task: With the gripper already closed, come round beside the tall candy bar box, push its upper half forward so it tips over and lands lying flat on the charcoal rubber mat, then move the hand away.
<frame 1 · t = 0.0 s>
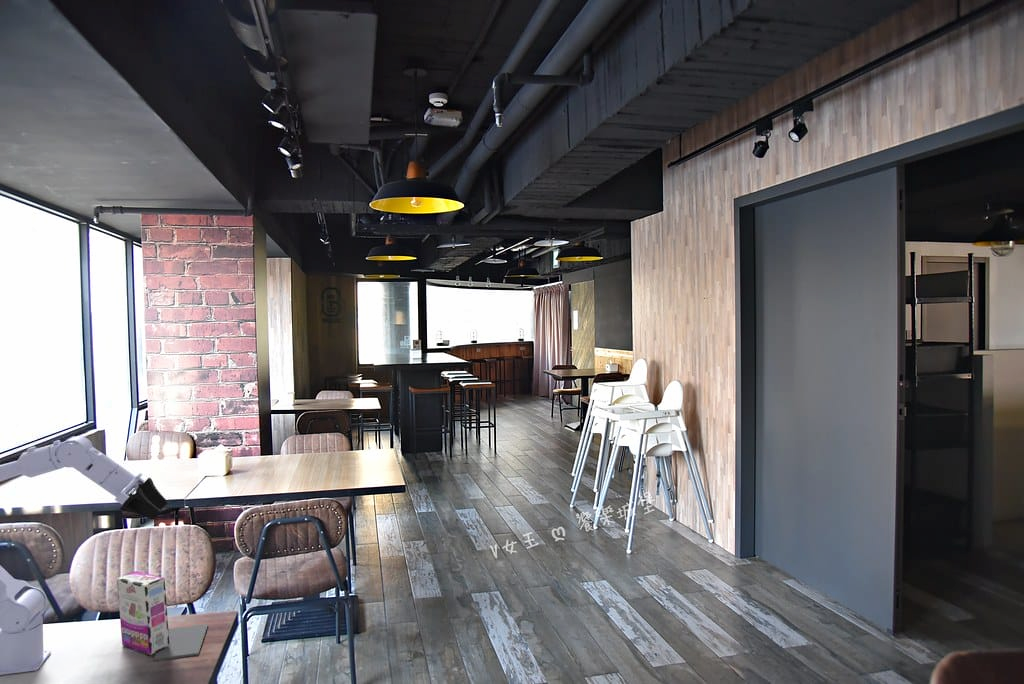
hand: (161, 510, 150), 32 cm above the table, tool tilted 50°, fingers open, 7 cm apart
candy bar box: (146, 646, 152), on the table, touching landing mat
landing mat: (182, 642, 154), on the table
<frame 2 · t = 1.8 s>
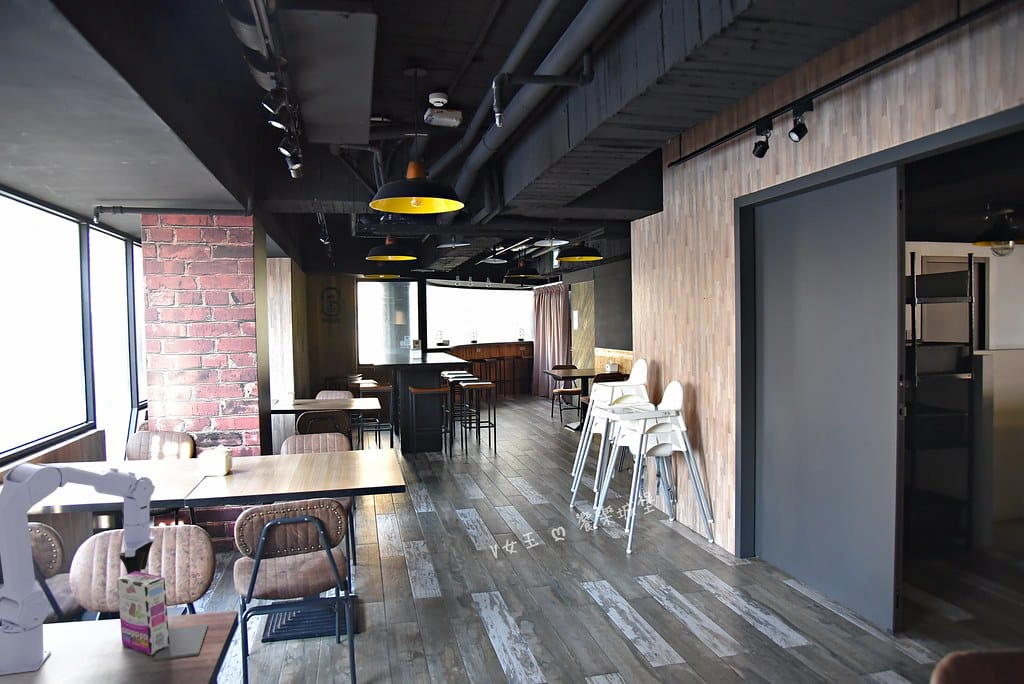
hand: (137, 574, 168), 10 cm above the table, tool pointing down, fingers open, 6 cm apart
nothing on the table moved.
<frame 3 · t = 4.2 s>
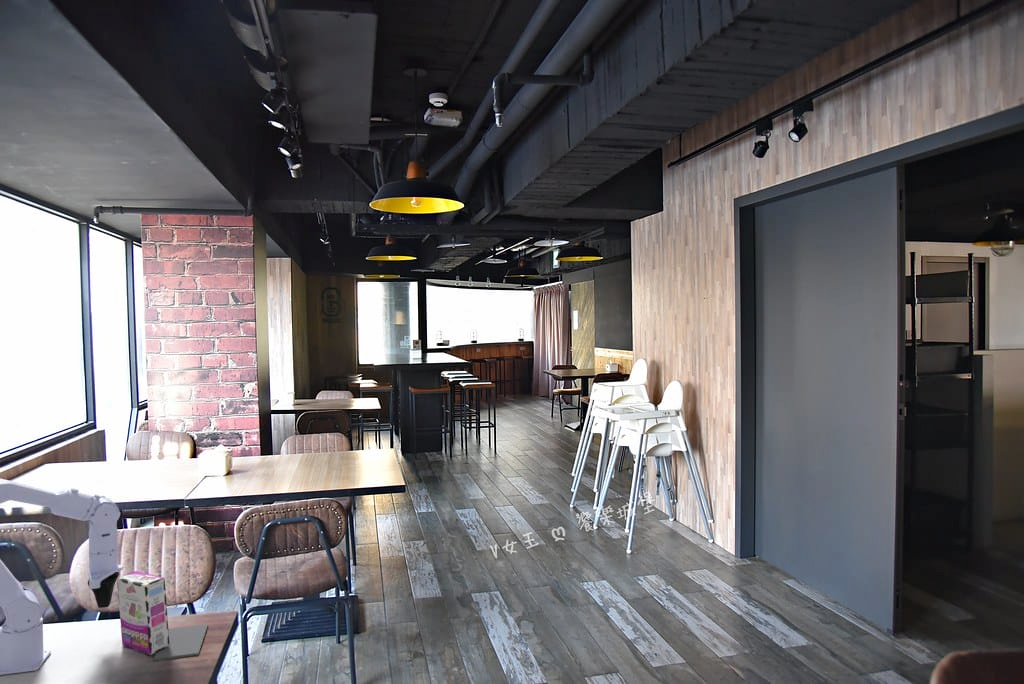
hand: (104, 606, 154), 8 cm above the table, tool pointing down, fingers closed
nothing on the table moved.
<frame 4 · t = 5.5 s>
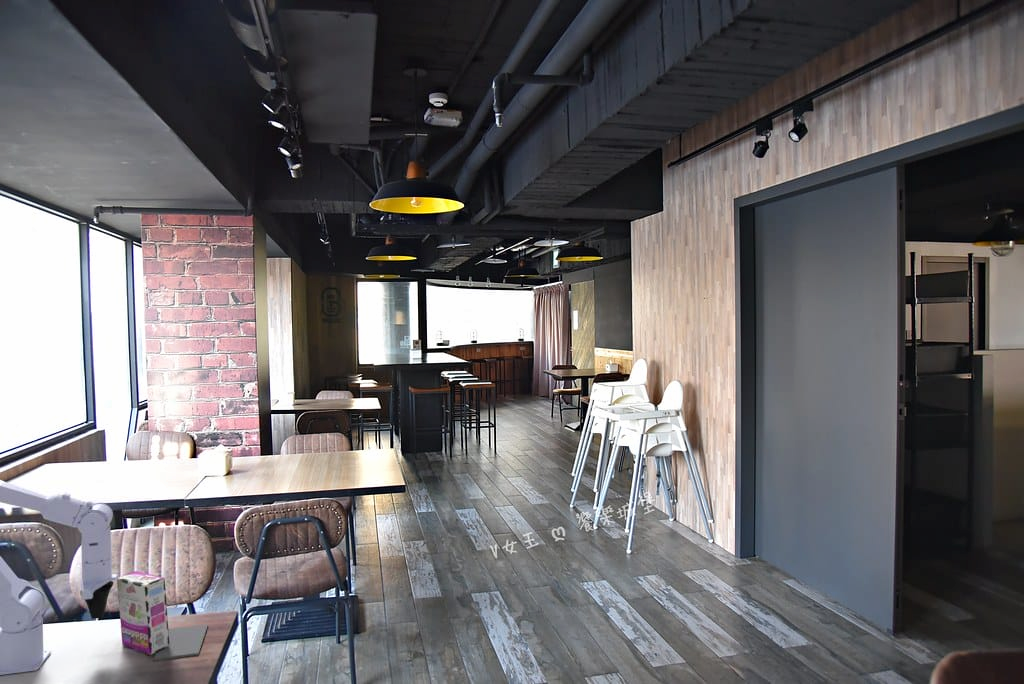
hand: (97, 617, 149), 8 cm above the table, tool pointing down, fingers closed
nothing on the table moved.
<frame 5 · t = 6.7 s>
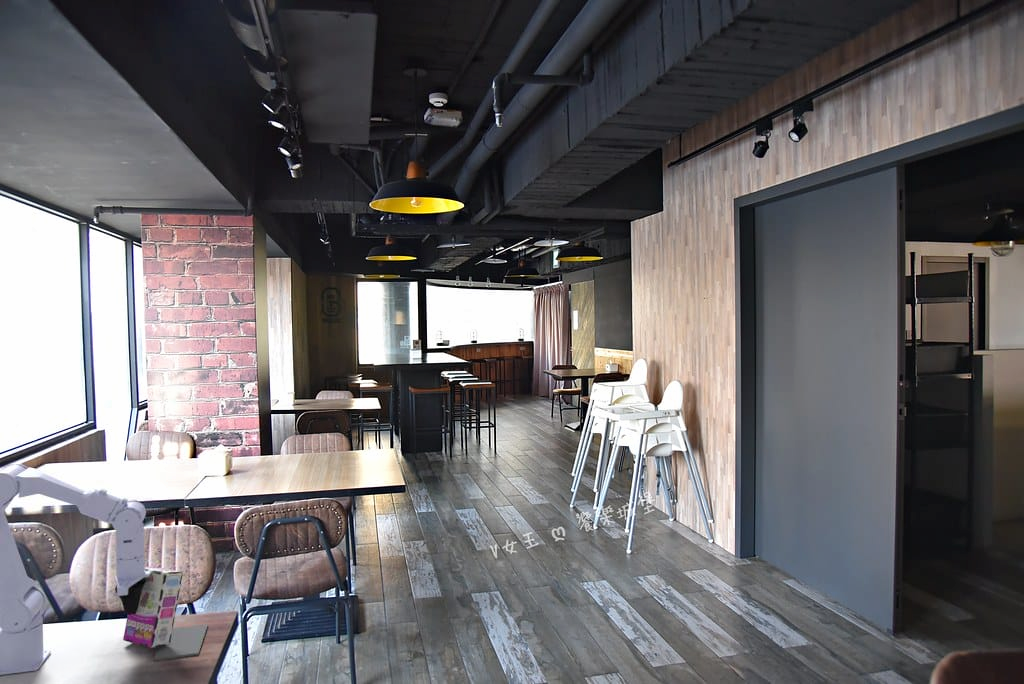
hand: (131, 613, 151), 8 cm above the table, tool pointing down, fingers closed
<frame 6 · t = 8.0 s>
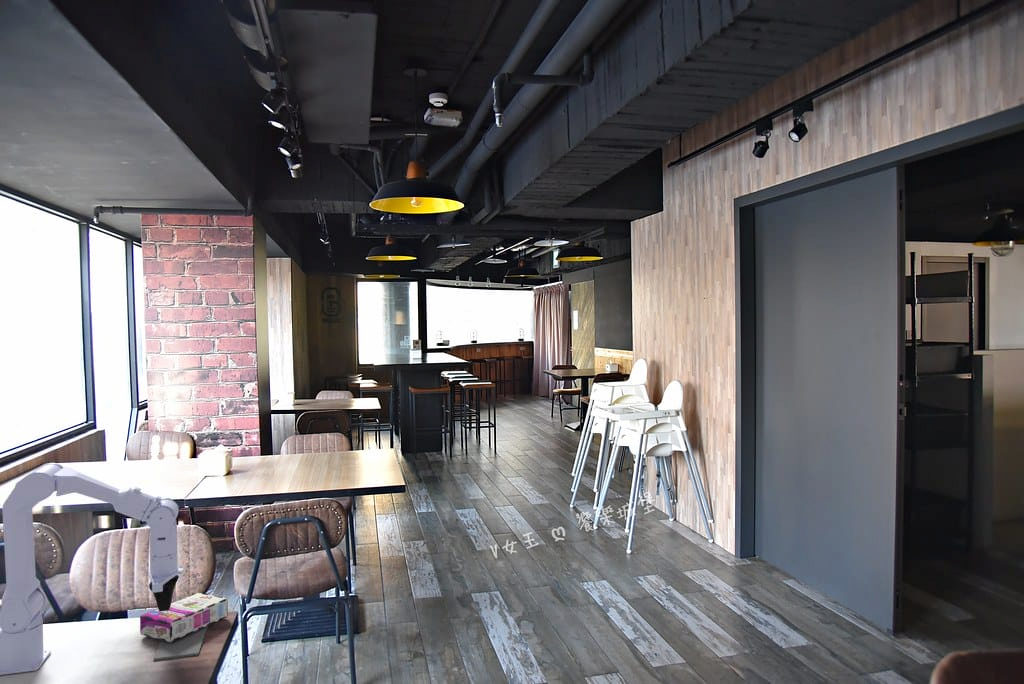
hand: (164, 609, 153), 8 cm above the table, tool pointing down, fingers closed
candy bar box: (153, 629, 154), point 3 cm above the table, touching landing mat
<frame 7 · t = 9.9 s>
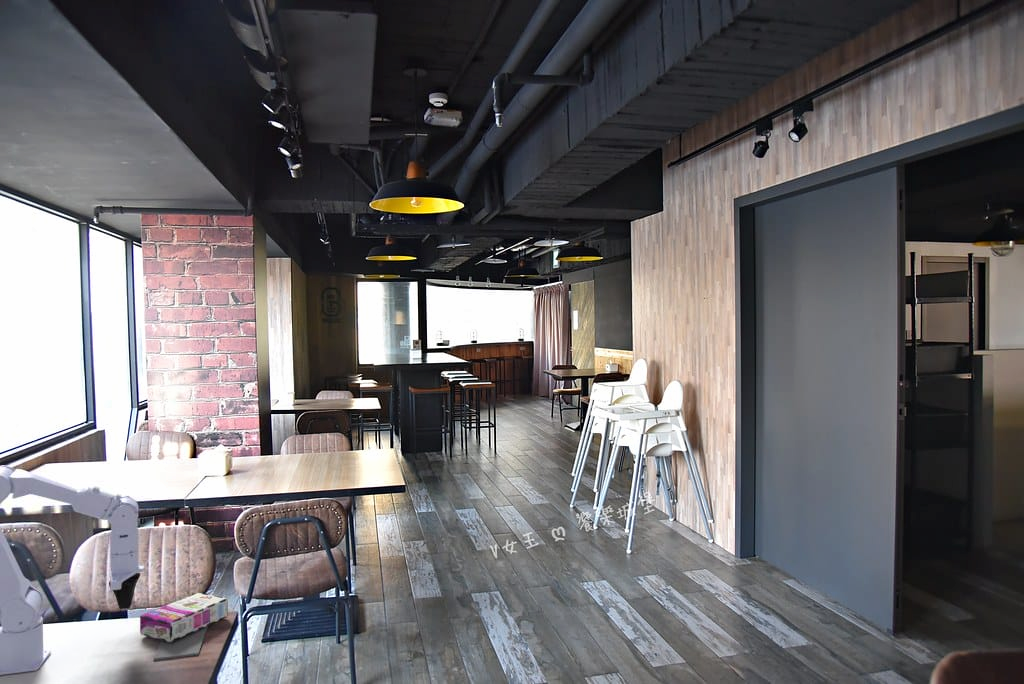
hand: (125, 607, 153), 9 cm above the table, tool pointing down, fingers closed
nothing on the table moved.
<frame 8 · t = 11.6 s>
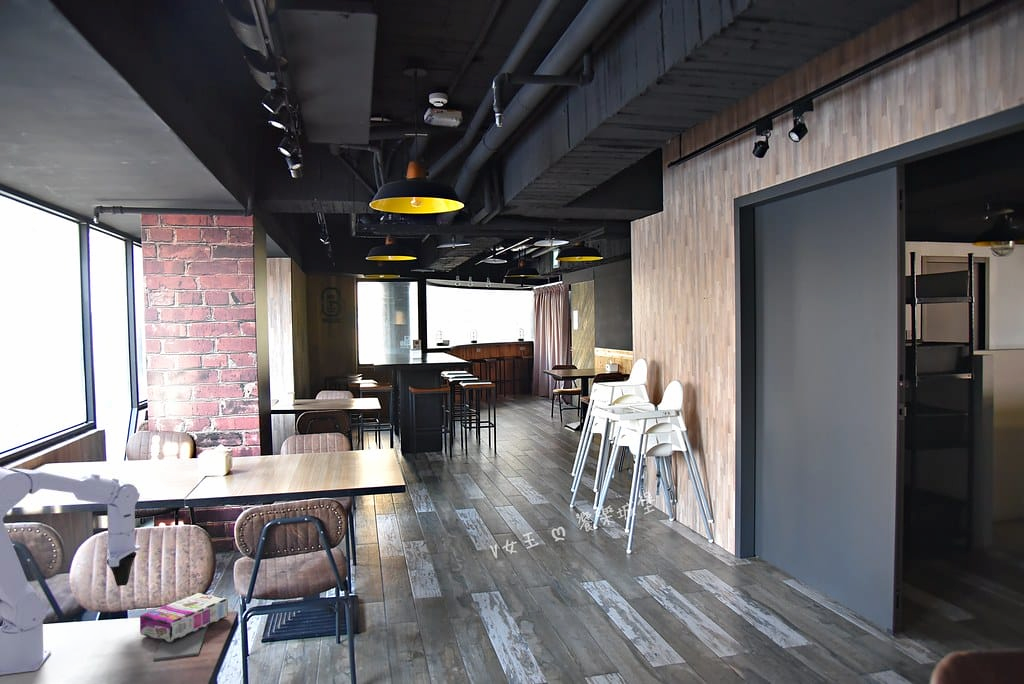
hand: (122, 584, 161), 10 cm above the table, tool pointing down, fingers closed
nothing on the table moved.
at the end: candy bar box tilted 92°; candy bar box touching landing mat, table; candy bar box inside the target area (2.0 cm from its centre), point 3.2 cm above the table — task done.
